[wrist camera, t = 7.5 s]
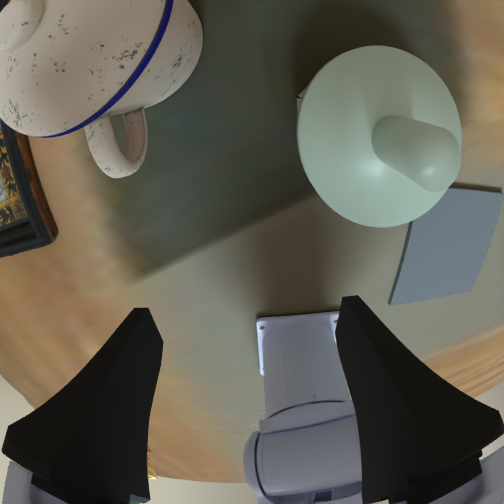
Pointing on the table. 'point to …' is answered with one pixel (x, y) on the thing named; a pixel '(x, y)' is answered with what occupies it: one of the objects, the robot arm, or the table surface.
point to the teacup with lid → (94, 69)
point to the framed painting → (21, 195)
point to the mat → (447, 245)
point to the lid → (379, 136)
